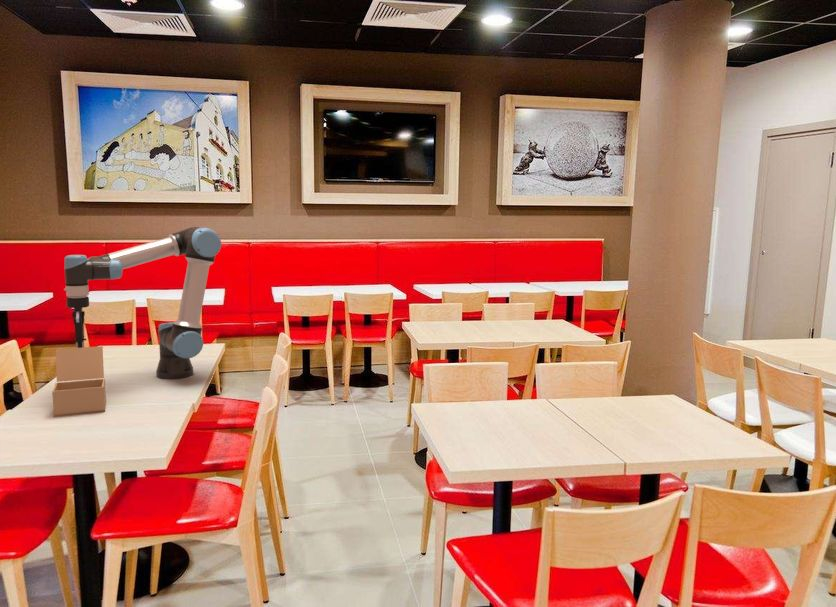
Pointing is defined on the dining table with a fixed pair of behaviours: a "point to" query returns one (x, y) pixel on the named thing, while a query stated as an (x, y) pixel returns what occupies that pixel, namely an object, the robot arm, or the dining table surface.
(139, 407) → the dining table surface
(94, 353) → the lid
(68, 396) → the carton
